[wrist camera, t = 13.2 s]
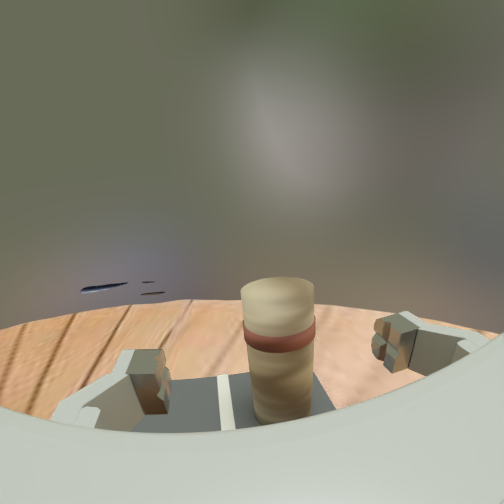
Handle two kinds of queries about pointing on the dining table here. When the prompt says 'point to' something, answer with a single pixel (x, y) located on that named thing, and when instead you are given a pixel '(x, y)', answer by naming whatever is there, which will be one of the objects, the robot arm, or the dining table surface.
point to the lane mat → (216, 405)
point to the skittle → (280, 347)
